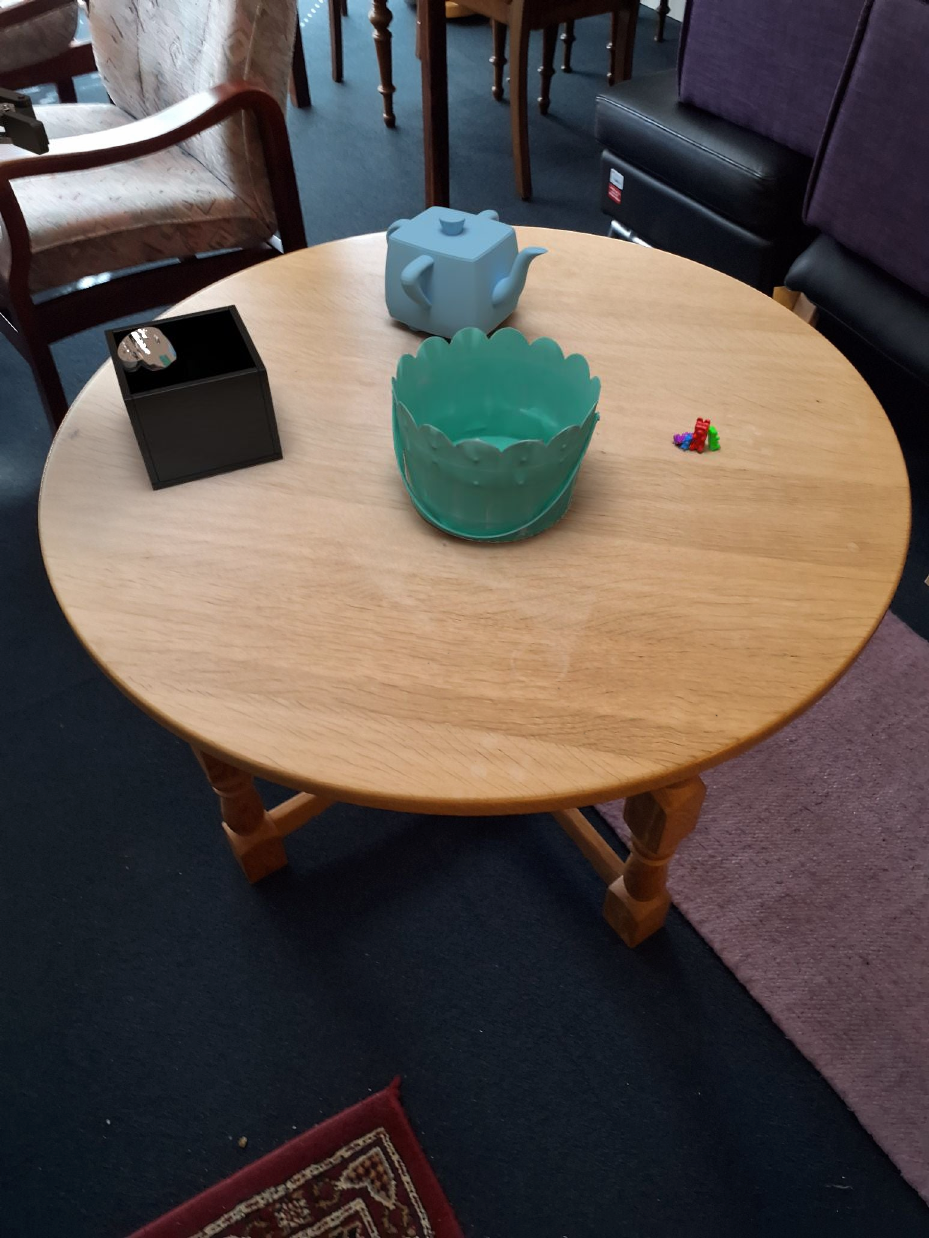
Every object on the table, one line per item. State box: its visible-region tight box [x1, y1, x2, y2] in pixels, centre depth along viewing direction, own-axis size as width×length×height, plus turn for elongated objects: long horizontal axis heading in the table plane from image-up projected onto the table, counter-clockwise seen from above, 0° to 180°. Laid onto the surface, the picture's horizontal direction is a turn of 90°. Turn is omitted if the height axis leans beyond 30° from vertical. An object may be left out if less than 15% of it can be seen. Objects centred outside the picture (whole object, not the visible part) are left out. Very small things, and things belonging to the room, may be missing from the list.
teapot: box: [384, 206, 549, 341], centre depth 109 cm, size 18×16×14 cm
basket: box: [390, 327, 602, 544], centre depth 86 cm, size 19×18×13 cm
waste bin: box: [103, 304, 284, 491], centre depth 93 cm, size 14×14×11 cm
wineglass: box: [118, 327, 189, 393], centre depth 91 cm, size 6×6×12 cm
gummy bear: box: [672, 417, 721, 453], centre depth 94 cm, size 5×3×4 cm, turn 65°
